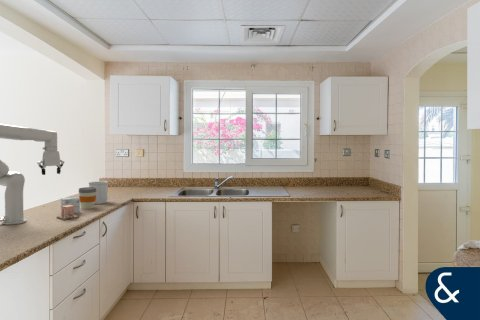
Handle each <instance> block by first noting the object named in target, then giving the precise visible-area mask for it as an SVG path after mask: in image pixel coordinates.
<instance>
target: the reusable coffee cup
mask: <svg viewBox="0 0 480 320" xmlns="http://www.w3.org/2000/svg"><path fill="white" fill-rule="evenodd" d="M78 198H80V209H82V210H84V209H85V210H88V209H93V208H95V204H94V203H95V200H96V188H94V187H89V186H87V187H79V188H78Z"/></svg>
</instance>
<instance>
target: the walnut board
mask: <svg viewBox="0 0 480 320" xmlns="http://www.w3.org/2000/svg"><path fill="white" fill-rule="evenodd" d="M56 219H58V220H62V221H68V220H74V219H80V216H79V215H76V214H74V216H73V217H72V214H70V216H69V215H68V214H67V218H65V214H64V217H62V215H58V216H56Z"/></svg>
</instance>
